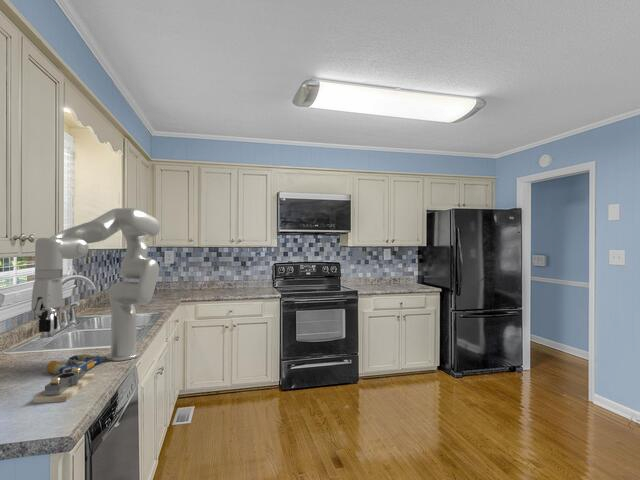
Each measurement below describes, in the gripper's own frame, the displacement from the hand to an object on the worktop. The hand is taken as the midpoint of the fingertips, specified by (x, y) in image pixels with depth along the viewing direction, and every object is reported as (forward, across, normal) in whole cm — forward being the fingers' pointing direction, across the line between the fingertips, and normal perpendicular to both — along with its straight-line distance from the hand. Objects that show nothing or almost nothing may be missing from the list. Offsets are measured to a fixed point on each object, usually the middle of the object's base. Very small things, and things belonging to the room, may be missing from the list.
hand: (48, 329), depth 123 cm
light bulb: (+2, 0, 0) cm, 2 cm away
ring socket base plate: (+19, +2, +7) cm, 20 cm away
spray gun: (+20, -19, -1) cm, 28 cm away
